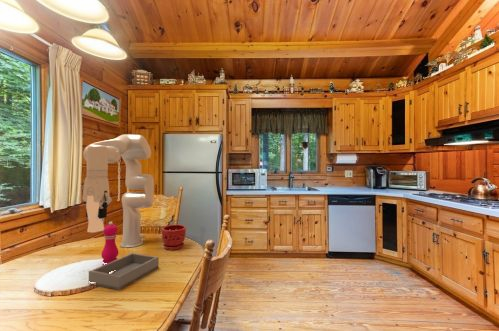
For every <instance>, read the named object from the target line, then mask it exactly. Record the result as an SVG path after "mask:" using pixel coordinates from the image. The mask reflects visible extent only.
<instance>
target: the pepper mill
mask: <svg viewBox="0 0 499 331" xmlns="http://www.w3.org/2000/svg"><path fill="white" fill-rule="evenodd" d="M102 232H103V234H104V240H105V243H104V247H103V249H102V251H101V258H102V261H103V262H104V263H110V262H112V261H114V260H117V259H118V258H117V257H118V256H119V249H118V247H117V244H116V239H117V234H116V233H118V226H117V225H115V224H114V223H113V221H109V222H108V225H105V226H104V230H103V231H102Z"/></svg>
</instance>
